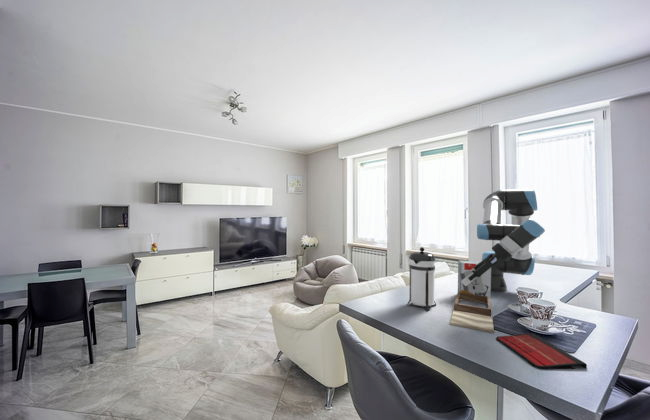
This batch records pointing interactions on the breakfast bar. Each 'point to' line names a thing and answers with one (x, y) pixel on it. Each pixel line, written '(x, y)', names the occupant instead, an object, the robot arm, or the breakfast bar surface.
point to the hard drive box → (485, 278)
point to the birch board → (472, 321)
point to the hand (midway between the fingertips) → (463, 281)
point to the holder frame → (473, 308)
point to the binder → (540, 352)
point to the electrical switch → (472, 283)
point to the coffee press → (422, 279)
